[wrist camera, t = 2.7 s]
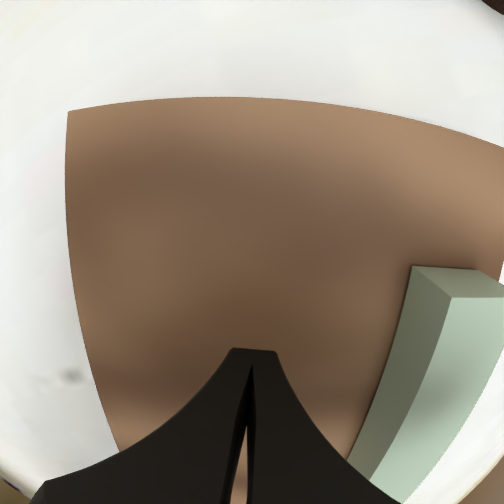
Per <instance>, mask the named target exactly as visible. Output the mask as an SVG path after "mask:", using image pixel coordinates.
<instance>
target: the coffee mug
mask: <svg viewBox="0 0 504 504" xmlns="http://www.w3.org/2000/svg"><path fill="white" fill-rule="evenodd" d="M482 1H483V2H485V3H486V4H487V5H489V6H490V7H491V8H493V9H494V10H496V11H498V12H499V13H501V14H503V15H504V0H482Z"/></svg>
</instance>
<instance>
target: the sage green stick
mask: <svg viewBox="0 0 504 504" xmlns="http://www.w3.org/2000/svg"><path fill="white" fill-rule="evenodd" d="M503 347H504V285H502V284H501V283H499V282H497V281H496V280H494V279H493V278H491V277H489V276H488V275H486V274H485V273H483V272H481V271H480V270H469V269H453V268H438V267H423V266H412V271H411V275H410V280H409V285H408V289H407V293H406V298H405V302H404V306H403V310H402V313H401V317H400V321H399V325H398V328H397V332H396V335H395V339H394V342H393V345H392V348H391V352H390V355H389V358H388V361H387V364H386V367H385V370H384V373H383V376H382V378H381V381H380V384H379V387H378V389H377V392H376V395H375V397H374V400H373V403H372V405H371V408H370V410H369V413H368V415H367V417H366V420H365V422H364V424H363V427H362V429H361V431H360V434H359V436H358V438H357V440H356V442H355V445H354V447H353V449H352V451H351V453H350V455H349V457H348V459H347V462H348V463H350V464H351V465H352V466H353V467H354V468H355V469H356V470H357V471H359V472H360V473H361V474H362V475H363V476H364V477H365V478H367V479H368V480H369V481H370V482H371V483H372V484H374V485H375V486H376V487H378V488H379V489H380V490H382V491H383V492H385V493H386V494H387V495H389V496H390V497H392V498H393V499H395V500H396V501H398V502H400V503H401V504H403V503H404V502H405V501H406V500H407V499H408V497H409V496H410V495H411V494H412V493H413V492H414V491H415V490H416V488H417V487H418V486H419V485H420V484H421V483H422V481H423V480H424V479H425V478H426V476H427V475H428V474H429V473H430V471H431V470H432V469H433V468H434V466H435V465H436V464H437V462H438V461H439V460H440V458H441V457H442V456H443V454H444V453H445V451H446V450H447V449H448V447H449V446H450V444H451V443H452V441H453V440H454V438H455V437H456V435H457V434H458V432H459V431H460V429H461V428H462V426H463V425H464V423H465V421H466V420H467V418H468V416H469V415H470V413H471V411H472V410H473V408H474V406H475V404H476V403H477V401H478V399H479V397H480V395H481V394H482V392H483V390H484V388H485V386H486V384H487V382H488V380H489V378H490V376H491V374H492V372H493V370H494V368H495V365H496V363H497V361H498V359H499V357H500V354H501V352H502V350H503Z"/></svg>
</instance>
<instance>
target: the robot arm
mask: <svg viewBox="0 0 504 504" xmlns="http://www.w3.org/2000/svg"><path fill="white" fill-rule="evenodd" d="M246 426H247V501H246V504H401V503H400V502H398V501H396V500H395V499H393V498H392V497H390V496H389V495H387V494H386V493H385V492H383V491H382V490H380V489H379V488H378V487H376V486H375V485H374V484H372V483H371V482H370V481H369V480H368V479H367V478H365V477H364V476H363V475H362V474H361V473H360V472H359V471H357V470H356V469H355V468H354V467H353V466H352V465H351V464H350V463H348V462H347V461H346V460H345V459H344V458H343V457H342V456H341V455H340V454H339V452H338V451H337V450H336V449H335V448H334V447H333V446H332V445H331V444H330V443H329V441H328V440H327V439H326V438H325V437H324V435H323V434H322V433H321V432H320V430H319V429H318V428H317V427H316V425H315V424H314V422H313V421H312V420H311V418H310V417H309V415H308V414H307V412H306V411H305V409H304V408H303V406H302V404H301V403H300V401H299V400H298V398H297V396H296V394H295V392H294V391H293V389H292V387H291V385H290V383H289V381H288V379H287V377H286V375H285V373H284V371H283V368H282V366H281V363H280V361H279V358H278V354H277V353H276V352H275V351H270V350H257V349H246V348H235V347H233V348H232V349H230V350H229V352H228V354H227V355H226V357H225V359H224V360H223V362H222V363H221V364H220V366H219V367H218V369H217V370H216V371H215V373H214V374H213V375H212V376H211V377H210V379H209V380H208V381H207V382H206V383H205V385H204V386H203V387H202V388H201V389H200V390H199V391H198V392H197V393H196V394H195V395H194V396H193V398H192V399H191V400H190V401H189V402H188V403H187V404H186V405H185V406H184V407H182V408H181V409H180V410H179V411H178V412H177V413H176V414H175V415H174V416H172V417H171V418H170V419H169V420H167V421H166V422H165V423H164V424H162V425H161V426H160V427H159V428H157V429H156V430H154V431H153V432H151V433H150V434H149V435H147V436H146V437H144V438H143V439H141V440H140V441H138V442H137V443H135V444H133V445H132V446H130V447H128V448H127V449H125V450H123V451H121V452H119V453H117V454H115V455H113V456H111V457H109V458H107V459H105V460H103V461H101V462H99V463H97V464H94V465H92V466H90V467H87V468H85V469H82V470H79V471H76V472H73V473H70V474H67V475H64V476H61V477H58V478H54V479H51V480H47V481H45V482H44V483H43V484H42V486H41V487H40V488H39V489H38V491H37V492H36V493H35V495H34V496H33V498H32V500H31V501H30V503H29V504H230V502H231V494H232V489H233V484H234V479H235V475H236V471H237V466H238V462H239V458H240V453H241V449H242V445H243V440H244V436H245V431H246Z"/></svg>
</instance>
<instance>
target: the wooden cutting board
mask: <svg viewBox="0 0 504 504" xmlns="http://www.w3.org/2000/svg"><path fill="white" fill-rule="evenodd" d="M65 203H66V223H67V236H68V247H69V257H70V265H71V273H72V280H73V287H74V293H75V299H76V305H77V310H78V316H79V321H80V326H81V330H82V335H83V339H84V344H85V348H86V352H87V356H88V360H89V363H90V367H91V371H92V374H93V378H94V381H95V385H96V388H97V391H98V394H99V397H100V401H101V404H102V407H103V409H104V412H105V415H106V418H107V421H108V424H109V426H110V429H111V432H112V434H113V437H114V439H115V442H116V444H117V447H118V449H119V451H120V452H121V451H123V450H125V449H127V448H128V447H130V446H132V445H133V444H135V443H137V442H138V441H140V440H141V439H143V438H144V437H146V436H147V435H149V434H150V433H151V432H153V431H154V430H156V429H157V428H159V427H160V426H161V425H162V424H164V423H165V422H166V421H167V420H169V419H170V418H171V417H172V416H174V415H175V414H176V413H177V412H178V411H179V410H180V409H181V408H182V407H184V406H185V405H186V404H187V403H188V402H189V401H190V400H191V399H192V398H193V396H194V395H195V394H196V393H197V392H198V391H199V390H200V389H201V388H202V387H203V386H204V385H205V383H206V382H207V381H208V380H209V379H210V377H211V376H212V375H213V374H214V373H215V371H216V370H217V369H218V367H219V366H220V364H221V363H222V362H223V360H224V359H225V357H226V355H227V354H228V352H229V350H230V349H232V348H233V347H235V348H246V349H257V350H270V351H275V352H276V353H277V354H278V358H279V361H280V363H281V366H282V368H283V371H284V373H285V375H286V377H287V379H288V381H289V383H290V385H291V387H292V389H293V391H294V392H295V394H296V396H297V398H298V400H299V401H300V403H301V404H302V406H303V408H304V409H305V411H306V412H307V414H308V415H309V417H310V418H311V420H312V421H313V422H314V424H315V425H316V427H317V428H318V429H319V430H320V432H321V433H322V434H323V435H324V437H325V438H326V439H327V440H328V441H329V443H330V444H331V445H332V446H333V447H334V448H335V449H336V450H337V451H338V452H339V454H340V455H341V456H342V457H343V458H344V459H345V460H346V461H347V459H348V457H349V455H350V453H351V451H352V449H353V447H354V445H355V442H356V440H357V438H358V436H359V434H360V431H361V429H362V427H363V424H364V422H365V420H366V417H367V415H368V413H369V410H370V408H371V405H372V403H373V400H374V397H375V395H376V392H377V389H378V387H379V384H380V381H381V378H382V376H383V373H384V370H385V367H386V364H387V361H388V358H389V355H390V352H391V348H392V345H393V342H394V339H395V335H396V332H397V328H398V325H399V321H400V317H401V313H402V310H403V306H404V302H405V298H406V293H407V289H408V285H409V280H410V275H411V271H412V266H423V267H438V268H453V269H469V270H480V271H481V272H483V273H485V274H486V275H488V276H489V277H491V278H493V279H494V280H496V281H497V282H498V281H499V277H500V274H501V270H502V265H503V261H504V148H503V147H500V146H498V145H495V144H492V143H490V142H487V141H484V140H481V139H478V138H475V137H472V136H469V135H466V134H463V133H460V132H457V131H454V130H450V129H447V128H443V127H440V126H436V125H433V124H429V123H425V122H421V121H417V120H413V119H409V118H405V117H400V116H396V115H391V114H386V113H381V112H376V111H371V110H365V109H359V108H353V107H347V106H340V105H333V104H325V103H317V102H308V101H297V100H285V99H271V98H249V97H191V98H170V99H156V100H144V101H134V102H125V103H117V104H110V105H103V106H96V107H90V108H84V109H78V110H73V111H68V118H67V132H66V151H65ZM246 501H247V426H246V431H245V436H244V440H243V445H242V449H241V453H240V458H239V462H238V466H237V471H236V475H235V479H234V484H233V489H232V494H231V502H230V504H246Z"/></svg>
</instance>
